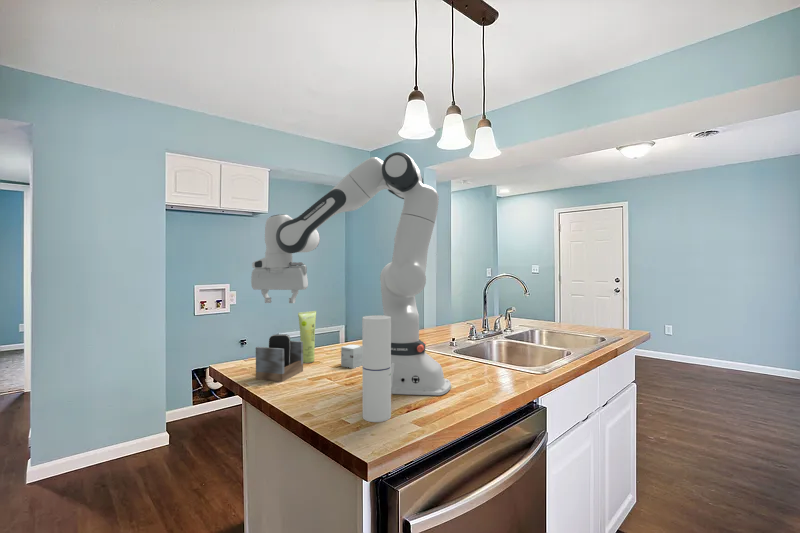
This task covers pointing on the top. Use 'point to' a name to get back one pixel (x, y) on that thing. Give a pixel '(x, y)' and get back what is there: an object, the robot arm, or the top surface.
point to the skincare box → (351, 356)
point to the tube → (307, 334)
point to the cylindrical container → (376, 367)
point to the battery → (281, 345)
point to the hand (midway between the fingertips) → (280, 303)
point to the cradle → (278, 362)
